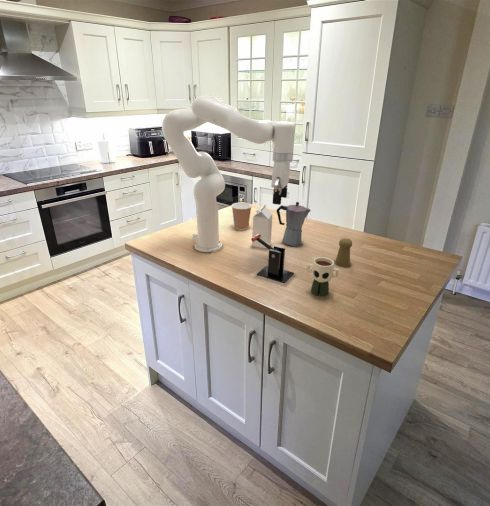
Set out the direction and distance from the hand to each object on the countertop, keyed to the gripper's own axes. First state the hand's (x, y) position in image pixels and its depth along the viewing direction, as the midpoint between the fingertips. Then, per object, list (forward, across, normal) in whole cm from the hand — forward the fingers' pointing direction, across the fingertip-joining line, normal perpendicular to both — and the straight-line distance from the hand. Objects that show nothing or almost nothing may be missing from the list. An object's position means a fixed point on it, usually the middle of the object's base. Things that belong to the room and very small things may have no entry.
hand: (279, 200), depth 139 cm
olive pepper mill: (+26, -5, +28) cm, 38 cm away
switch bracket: (+26, +16, +4) cm, 30 cm away
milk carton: (+26, -9, -9) cm, 29 cm away
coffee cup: (+26, -28, -26) cm, 46 cm away
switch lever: (+15, +15, -1) cm, 21 cm away
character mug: (+26, +22, +22) cm, 41 cm away
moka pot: (+26, -18, +3) cm, 32 cm away
